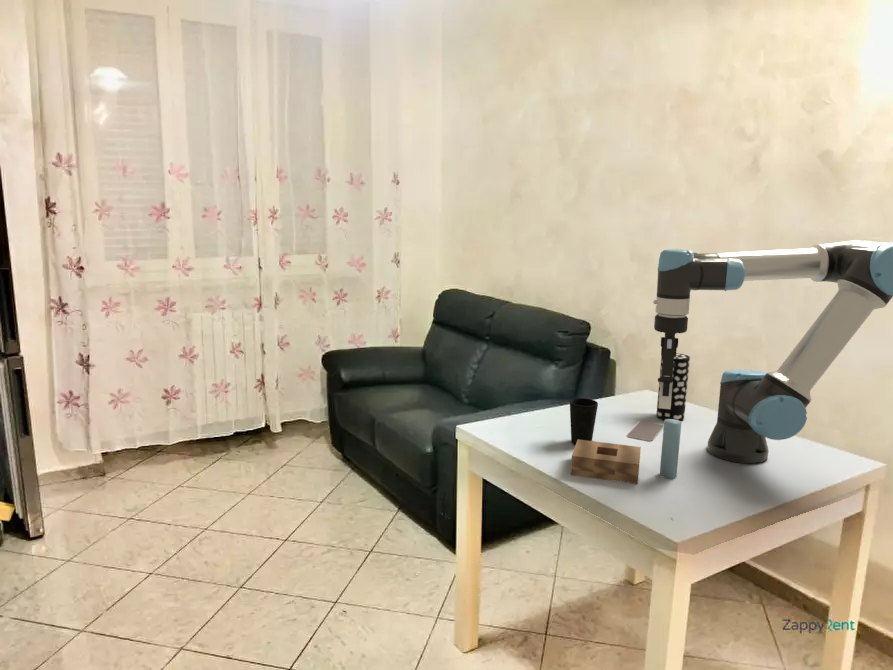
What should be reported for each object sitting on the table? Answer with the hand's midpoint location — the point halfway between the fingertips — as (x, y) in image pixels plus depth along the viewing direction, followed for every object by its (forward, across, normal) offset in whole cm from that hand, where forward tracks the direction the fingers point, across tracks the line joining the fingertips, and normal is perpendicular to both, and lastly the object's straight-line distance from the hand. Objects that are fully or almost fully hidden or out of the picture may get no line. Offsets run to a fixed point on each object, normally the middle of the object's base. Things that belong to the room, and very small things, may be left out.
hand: (665, 400), depth 162 cm
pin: (+19, +1, +2) cm, 19 cm away
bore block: (+19, +3, -13) cm, 23 cm away
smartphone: (+20, -30, -5) cm, 36 cm away
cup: (+19, -14, -21) cm, 32 cm away
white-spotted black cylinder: (+19, -46, +2) cm, 50 cm away
